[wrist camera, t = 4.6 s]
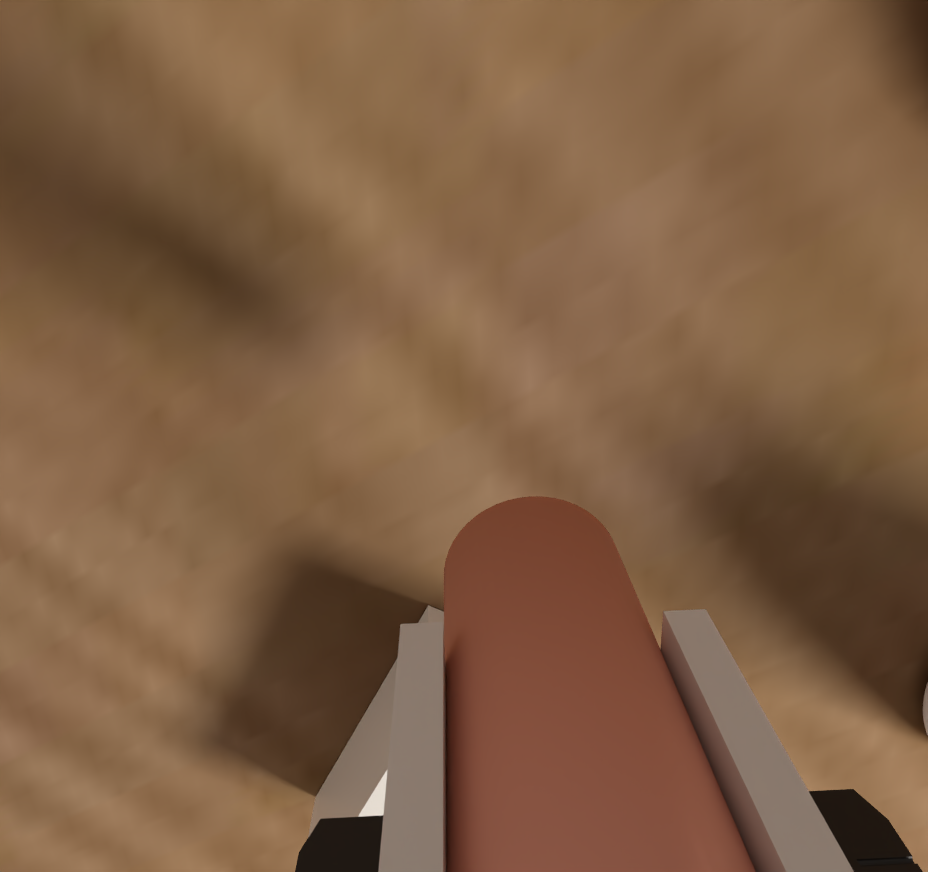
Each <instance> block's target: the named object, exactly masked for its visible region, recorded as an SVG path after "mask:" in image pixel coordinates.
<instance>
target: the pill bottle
mask: <svg viewBox="0 0 928 872" xmlns="http://www.w3.org/2000/svg"><path fill="white" fill-rule="evenodd" d="M923 720H924V725H925V729H926V733H927V735H928V683H927V686H926V689H925V694H924V701H923Z"/></svg>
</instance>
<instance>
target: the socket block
mask: <svg viewBox="0 0 928 872" xmlns="http://www.w3.org/2000/svg"><path fill="white" fill-rule="evenodd" d="M431 622H443V628H444V612H443V611H441V610H439V609H436V608H434V607H431V606H429V605H428V607H427V608H426V610H425V612H424V613H423V615H422V617H421V619H420V620H419V622H418V623H431ZM396 669H397V659H396V661H395V663H394V665H393V666H392V668H391V670H390V671H389V673H388V675H387V676H386V678H385V680H384V682H383V683H382V685H381V687H380V688H379V690H378V692H377V693H376V695H375V697H374V699H373V700H372V702H371V704H370V705H369V707H368V709H367V710H366V712H365V714H364V716H363V717H362V719H361V721H360V722H359V724H358V726H357V728H356V729H355V731H354V733H353V734H352V736H351V738H350V739H349V741H348V743H347V745H346V746H345V748H344V750H343V751H342V753H341V755H340V756H339V758H338V760H337V762H336V763H335V765H334V767H333V768H332V770H331V772H330V773H329V775H328V777H327V779H326V780H325V782H324V784H323V785H322V787H321V789H320V791H319V792H318V794H317V796H316V797H315V802H314V808H313V814H312V819H311V825H310V831H309V836H310V834H311V833H312V831H313V830H314V828H315V826H316V825H317V823H318V822H319V820H320V819H323V818H342V817H362V816H381V815H383V814H384V803H385V792H386V781H387V770H388V759H389V747H390V736H391V725H392V714H393V703H394V692H395V680H396ZM308 838H309V837H308Z"/></svg>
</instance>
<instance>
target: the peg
mask: <svg viewBox="0 0 928 872" xmlns="http://www.w3.org/2000/svg"><path fill="white" fill-rule="evenodd" d="M444 645H445V662H446V864H447V872H756V871H755V868H754V866H753V864H752V861H751V859H750V857H749V854H748V852H747V850H746V847H745V845H744V843H743V840H742V838H741V836H740V833H739V831H738V829H737V826H736V824H735V822H734V820H733V817H732V815H731V813H730V810H729V808H728V806H727V803H726V801H725V799H724V796H723V794H722V792H721V789H720V787H719V785H718V782H717V780H716V778H715V775H714V773H713V771H712V768H711V766H710V764H709V762H708V759H707V757H706V755H705V752H704V750H703V748H702V745H701V743H700V741H699V738H698V736H697V734H696V731H695V729H694V727H693V724H692V722H691V720H690V717H689V715H688V713H687V711H686V708H685V706H684V704H683V701H682V699H681V697H680V694H679V692H678V690H677V687H676V685H675V683H674V680H673V678H672V676H671V673H670V671H669V669H668V666H667V664H666V662H665V660H664V657H663V655H662V653H661V650H660V648H659V646H658V643H657V641H656V639H655V636H654V634H653V632H652V629H651V627H650V625H649V622H648V620H647V618H646V615H645V613H644V611H643V608H642V606H641V604H640V602H639V599H638V597H637V595H636V592H635V590H634V588H633V585H632V583H631V581H630V578H629V576H628V574H627V571H626V569H625V567H624V564H623V562H622V560H621V557H620V555H619V553H618V551H617V548H616V546H615V544H614V541H613V540H612V538H611V536H610V534H609V532H608V531H607V530H606V528H605V527H604V526H603V524H602V523H600V522H599V521H598V520H597V519H596V518H595V517H594V516H593V515H592V514H590V513H589V512H588V511H586V510H584V509H582V508H581V507H579V506H577V505H575V504H572V503H570V502H567V501H564V500H560V499H556V498H549V497H522V498H516V499H512V500H508V501H505V502H502V503H499V504H496V505H494V506H492V507H490V508H488V509H486V510H485V511H483V512H481V513H480V514H478V515H477V516H476V517H474V518H473V519H472V520H471V521H470V522H468V523H467V524H466V526H465V527H464V528H463V529H462V530H461V531H460V532H459V534H458V535H457V537H456V538H455V540H454V541H453V543H452V545H451V547H450V549H449V552H448V555H447V558H446V562H445V568H444Z"/></svg>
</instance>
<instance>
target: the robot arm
mask: <svg viewBox="0 0 928 872" xmlns="http://www.w3.org/2000/svg"><path fill="white" fill-rule="evenodd" d="M661 653H662V655H663V657H664V660H665V662H666V664H667V666H668V669H669V671H670V673H671V676H672V678H673V680H674V683H675V685H676V687H677V690H678V692H679V694H680V697H681V699H682V701H683V704H684V706H685V708H686V711H687V713H688V715H689V717H690V720H691V722H692V724H693V727H694V729H695V731H696V734H697V736H698V738H699V741H700V743H701V745H702V748H703V750H704V752H705V755H706V757H707V759H708V762H709V764H710V766H711V768H712V771H713V773H714V775H715V778H716V780H717V782H718V785H719V787H720V789H721V792H722V794H723V796H724V799H725V801H726V803H727V806H728V808H729V810H730V813H731V815H732V817H733V820H734V822H735V824H736V826H737V829H738V831H739V833H740V836H741V838H742V840H743V843H744V845H745V847H746V850H747V852H748V854H749V857H750V859H751V861H752V864H753V866H754V868H755V871H756V872H922V870H921V869H920V867H919V866H918V864H915V863H914V862H913V859H912V855H911V854H910V852H909V850H908V849H907V847H906V846H905V844H904V843H903V841H902V840H901V838H900V837H899V835H898V834H897V832H896V831H895V829H894V828H893V826H892V825H891V823H890V822H889V820H888V819H887V818H886V817H885V816H883V815H882V814H881V813H880V812H879V811H878V810H877V809H875V808H874V807H873V806H872V805H871V804H870V803H868V802H867V801H866V800H865V799H864V798H863V797H862V796H860V795H859V794H858V793H857V792H856V791H855V790H854V789H846V790H827V791H808V789H807V788H806V786H805V784H804V782H803V781H802V779H801V777H800V775H799V773H798V772H797V770H796V768H795V766H794V765H793V763H792V761H791V759H790V758H789V756H788V754H787V752H786V750H785V749H784V747H783V745H782V743H781V742H780V740H779V738H778V736H777V734H776V733H775V731H774V729H773V727H772V726H771V724H770V722H769V720H768V719H767V717H766V715H765V713H764V711H763V710H762V708H761V706H760V704H759V703H758V701H757V699H756V697H755V696H754V694H753V692H752V690H751V688H750V687H749V685H748V683H747V681H746V680H745V678H744V676H743V674H742V673H741V671H740V669H739V667H738V665H737V664H736V662H735V660H734V658H733V657H732V655H731V653H730V651H729V650H728V648H727V646H726V644H725V642H724V641H723V639H722V637H721V635H720V634H719V632H718V630H717V628H716V626H715V625H714V623H713V621H712V619H711V618H710V616H709V614H708V612H707V611H706V609H698V610H677V611H663V624H662V637H661ZM295 872H447V864H446V662H445V645H444V628H443V622H431V623H411V624H401V625H400V636H399V647H398V658H397V669H396V680H395V692H394V703H393V714H392V725H391V736H390V747H389V759H388V770H387V781H386V792H385V803H384V814H383V815H381V816H362V817H342V818H323V819H320V820H319V822H318V823H317V825H316V826H315V828H314V830H313V831H312V833H311V834H310V836H309V838H308V839H307V841H306V842H305V844H304V845H303V847H302V849H301V850H300V852H299V855H298V860H297V865H296V870H295Z"/></svg>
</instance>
